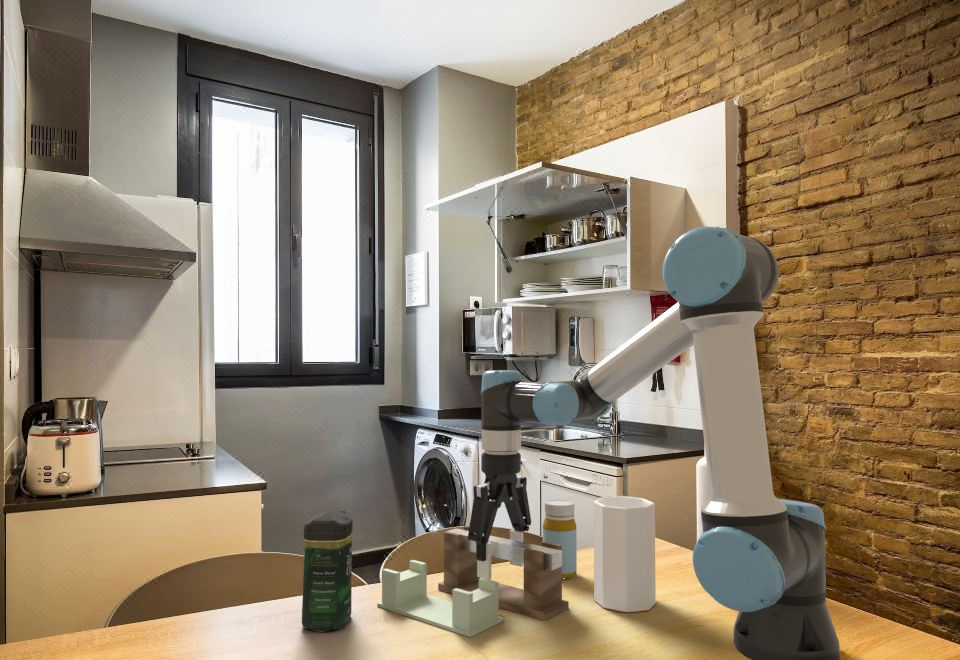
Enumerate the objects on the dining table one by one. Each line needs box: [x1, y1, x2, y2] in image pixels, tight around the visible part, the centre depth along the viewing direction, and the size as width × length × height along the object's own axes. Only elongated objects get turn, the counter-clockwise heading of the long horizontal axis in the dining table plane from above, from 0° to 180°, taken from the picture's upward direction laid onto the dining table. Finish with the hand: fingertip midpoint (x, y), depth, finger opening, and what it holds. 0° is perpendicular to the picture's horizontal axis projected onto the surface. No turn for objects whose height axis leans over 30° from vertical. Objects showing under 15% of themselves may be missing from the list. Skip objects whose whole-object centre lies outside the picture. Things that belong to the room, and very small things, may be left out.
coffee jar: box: [301, 509, 354, 632], centre depth 118 cm, size 10×8×19 cm
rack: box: [437, 525, 570, 621], centre depth 130 cm, size 25×8×11 cm, turn 51°
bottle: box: [542, 498, 578, 579], centre depth 144 cm, size 7×7×15 cm
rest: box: [376, 559, 504, 638], centre depth 122 cm, size 22×9×7 cm, turn 51°
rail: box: [445, 528, 562, 570], centre depth 130 cm, size 25×3×3 cm, turn 51°
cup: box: [593, 495, 657, 614], centre depth 128 cm, size 11×11×18 cm
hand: (500, 571), depth 130 cm, fingers open, 9 cm apart
